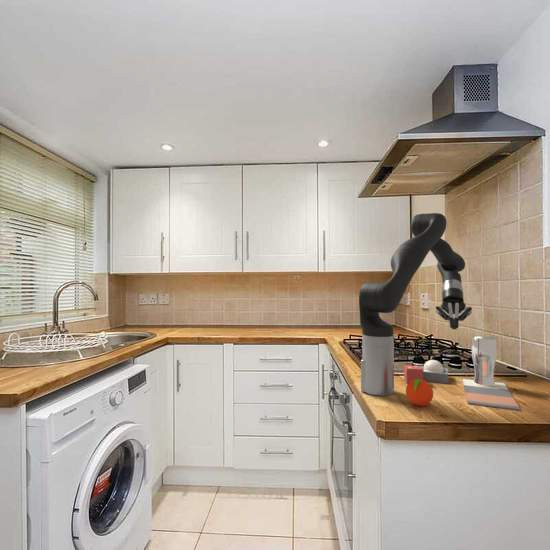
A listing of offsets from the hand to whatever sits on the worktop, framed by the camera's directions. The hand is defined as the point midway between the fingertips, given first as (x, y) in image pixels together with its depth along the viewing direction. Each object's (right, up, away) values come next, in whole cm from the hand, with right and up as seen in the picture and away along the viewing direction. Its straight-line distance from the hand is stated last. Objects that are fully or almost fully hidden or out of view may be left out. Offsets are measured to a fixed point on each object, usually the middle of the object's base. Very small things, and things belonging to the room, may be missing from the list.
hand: (454, 328), depth 130 cm
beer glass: (+2, -16, -16) cm, 23 cm away
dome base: (-11, -16, -8) cm, 21 cm away
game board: (-2, -16, -23) cm, 28 cm away
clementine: (-27, -16, -34) cm, 47 cm away
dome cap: (-11, -16, -8) cm, 21 cm away
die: (-20, -16, -12) cm, 29 cm away
